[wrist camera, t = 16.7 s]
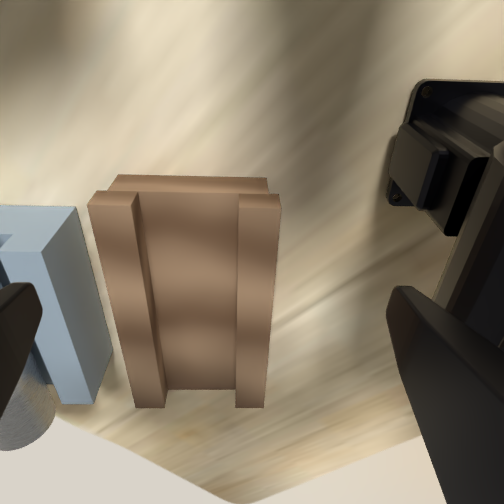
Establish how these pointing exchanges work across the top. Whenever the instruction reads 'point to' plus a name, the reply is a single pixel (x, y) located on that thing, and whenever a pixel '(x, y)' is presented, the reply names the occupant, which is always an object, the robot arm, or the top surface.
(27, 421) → the axle
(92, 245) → the top surface
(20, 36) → the top surface
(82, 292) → the cradle
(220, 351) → the beam
